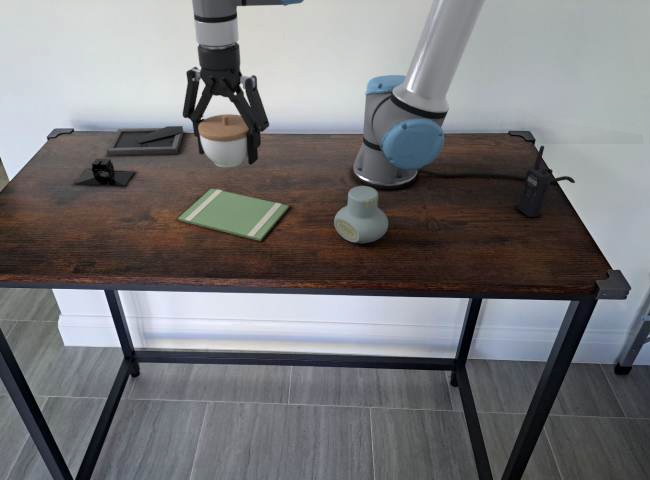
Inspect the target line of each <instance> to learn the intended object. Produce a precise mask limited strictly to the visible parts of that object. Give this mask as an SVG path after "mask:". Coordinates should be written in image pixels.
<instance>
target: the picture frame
mask: <svg viewBox="0 0 650 480" xmlns="http://www.w3.org/2000/svg"><path fill="white" fill-rule="evenodd" d="M183 136H184V127H183V125H167V126H165V127H144V128H143V127H142V128H139V127H138V128H117V130H116V132H115V134H114V136H113V137H112V139H111V141H110V143H109V145H108V147H107V149H106V153H107V157H119V156H121V157H122V156H124V157H125V156H157V155H158V156H161V155H162V156H166V155H167V156H168V155H177V154H178V152H179V149H180V146H181V143H182V140H183Z"/></svg>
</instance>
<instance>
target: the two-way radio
mask: <svg viewBox="0 0 650 480" xmlns="http://www.w3.org/2000/svg"><path fill="white" fill-rule="evenodd" d="M544 151H545V146H544V145H540V147H539V150H538V152H537V156H536V159H535V162H534V166H531V167H529V168H528V170H527V171H526V174H525V176H526V178H525V180H524V182H523V185H522V189H521V192H520V197H519V201H518V205H517V209H518V210H519V211H520V212H522V213H523V214H524V215H525V216H527V217H529V218H536V217H538V216H539V215H540V214H541V211H542V208H543V206H544V203H545V200H546V198H547V194H548V192H549V190H550V189H549V188H550V185H551V183H550V182H551V179H552V175H553V173H554V171H553V169H551V168H548V167H547V166H542V167H540V166H541V162H542V158H543V154H544Z"/></svg>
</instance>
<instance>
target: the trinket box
mask: <svg viewBox="0 0 650 480" xmlns="http://www.w3.org/2000/svg"><path fill="white" fill-rule="evenodd" d="M204 119H205V120H203V121H202V122H201V123H200V124H199V126H198V130H199V134H200V140H201V144H202V147H203V150H204V152H205V153H204V155H205V156H206V157H207V158H208V159H209V161H211V162H213V164H214V165H215V166H217V167H220V168H226V169H229V168H230V169H231V168H236V167H238V166H240V165H242V164H243V163H244V161H245V160H246V159H247V158H248V148H247V132H248V131H250V130H249V128H248V127H247V125H246V123H245V122H244V120H243V118H242V117H241V115H240V114H232V113H231V114H230V113H228V114H227V113H226V114H217V115H213V116H212V115H211V116H209V117H207V118H204Z"/></svg>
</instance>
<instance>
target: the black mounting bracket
mask: <svg viewBox="0 0 650 480" xmlns="http://www.w3.org/2000/svg"><path fill="white" fill-rule="evenodd" d="M134 175H135V171H127V170H115V167H114V164H113V162H112V160H111V159H110V158H95V159H94V161H93V162H92V163H91V169H86V170H85V171H84V172H83V173H82V174H81V175H80V177H79V178H78V179H77V180H76V182H75V185H76V186H78V185H79V186H98V187H102V186H103V187H122V188H124V187H126V186H127V185H128V183H129V182H130V180H131V179H132V178H133V176H134Z"/></svg>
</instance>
